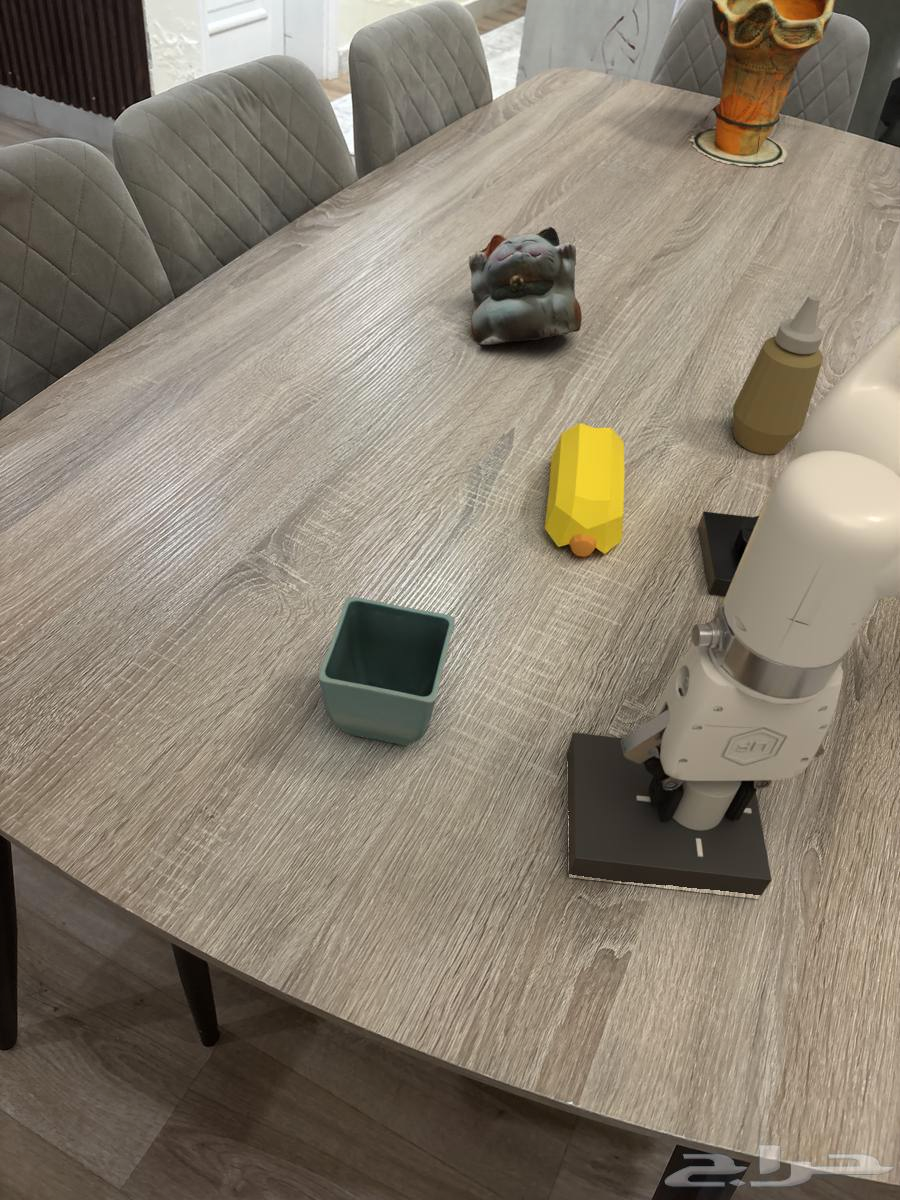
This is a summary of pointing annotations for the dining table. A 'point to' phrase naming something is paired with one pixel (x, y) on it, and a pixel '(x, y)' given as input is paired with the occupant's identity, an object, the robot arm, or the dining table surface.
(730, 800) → the burner knob
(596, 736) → the panel
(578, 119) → the dining table surface
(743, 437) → the squeeze bottle
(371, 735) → the flower pot
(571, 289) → the lucky cat figurine
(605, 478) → the yellow faceted bar
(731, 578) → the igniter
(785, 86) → the decorative vase
